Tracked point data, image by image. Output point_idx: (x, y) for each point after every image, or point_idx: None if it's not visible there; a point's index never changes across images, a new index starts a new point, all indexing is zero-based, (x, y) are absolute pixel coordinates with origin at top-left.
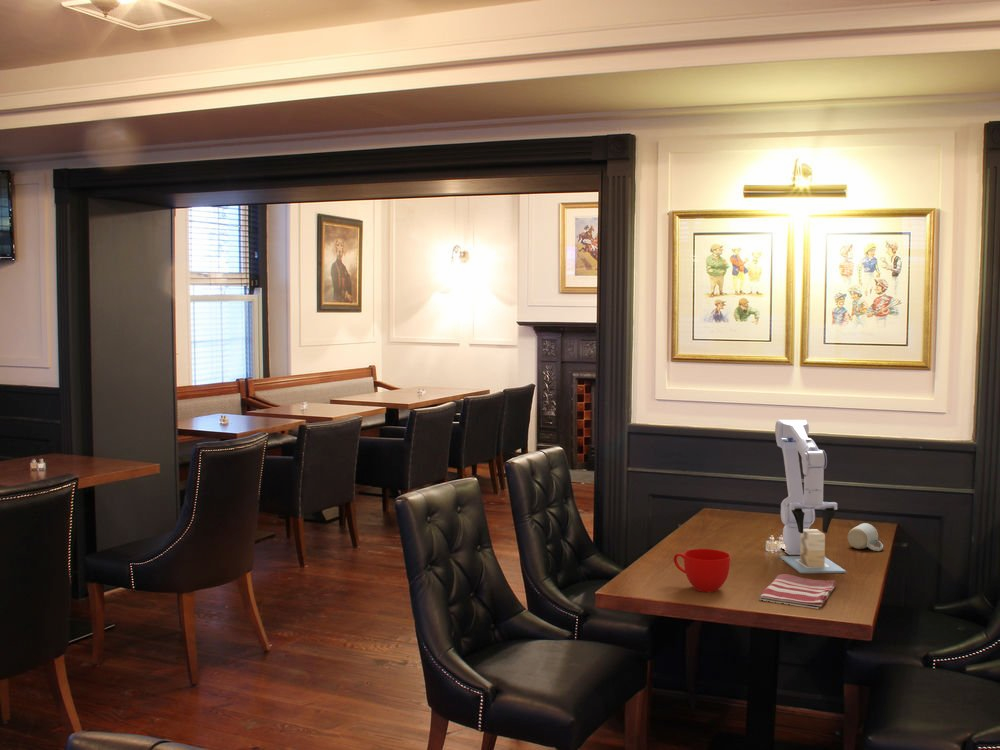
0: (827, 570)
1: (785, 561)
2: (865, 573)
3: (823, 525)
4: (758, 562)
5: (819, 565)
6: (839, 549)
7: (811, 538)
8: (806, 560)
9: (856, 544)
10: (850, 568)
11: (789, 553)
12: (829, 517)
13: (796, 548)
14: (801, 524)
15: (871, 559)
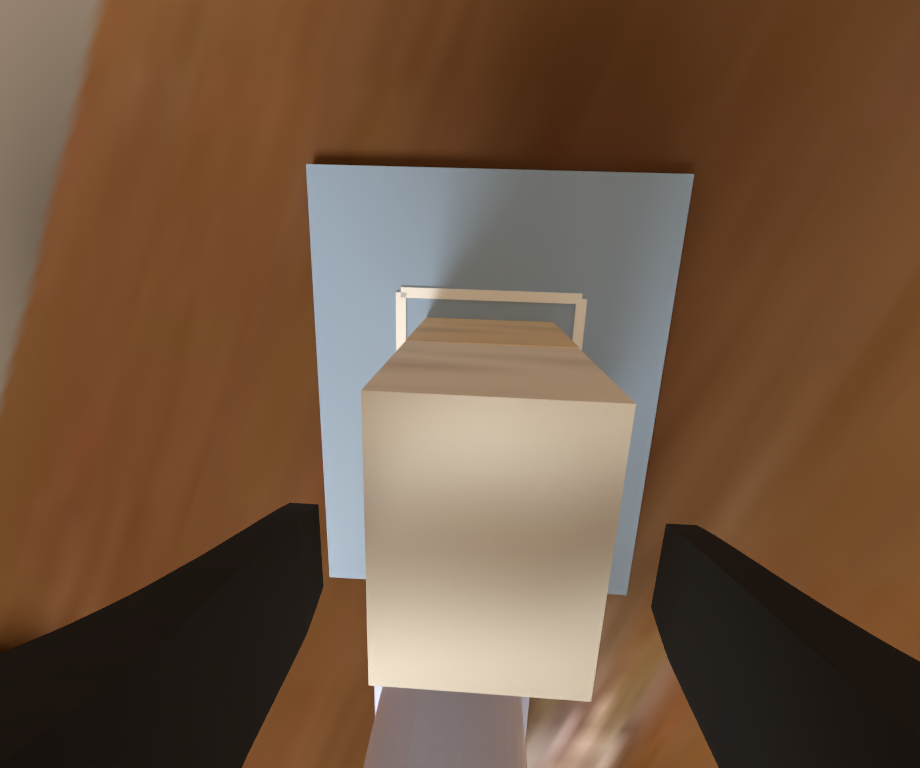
0: (453, 188)
1: (638, 498)
2: (165, 136)
3: (279, 646)
4: (832, 509)
5: (465, 319)
6: None
7: (577, 383)
8: None
9: None
10: (237, 292)
11: None
12: (24, 690)
13: None
14: (807, 614)
15: (35, 496)
